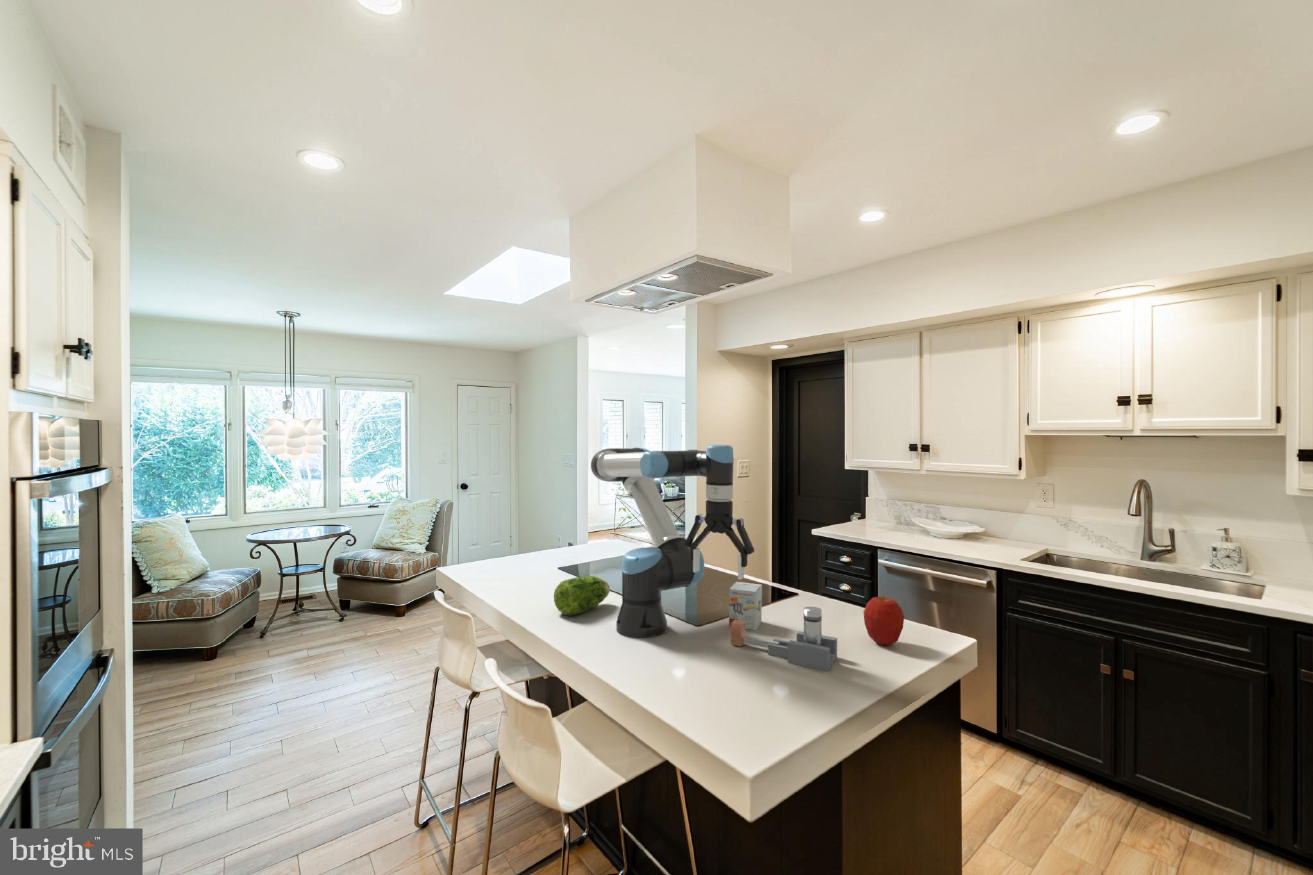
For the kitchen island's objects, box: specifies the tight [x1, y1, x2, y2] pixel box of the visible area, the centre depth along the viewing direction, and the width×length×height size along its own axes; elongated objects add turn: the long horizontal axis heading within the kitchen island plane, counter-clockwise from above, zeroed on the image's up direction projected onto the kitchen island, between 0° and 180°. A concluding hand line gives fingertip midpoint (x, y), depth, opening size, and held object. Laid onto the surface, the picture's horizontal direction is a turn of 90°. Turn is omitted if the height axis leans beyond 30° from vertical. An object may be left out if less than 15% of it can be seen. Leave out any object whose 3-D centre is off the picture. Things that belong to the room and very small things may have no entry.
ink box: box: [728, 581, 763, 631], centre depth 170 cm, size 9×9×12 cm
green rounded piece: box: [553, 575, 611, 616], centre depth 184 cm, size 12×21×11 cm, turn 141°
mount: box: [767, 630, 838, 672], centre depth 144 cm, size 16×10×5 cm, turn 59°
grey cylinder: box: [803, 606, 823, 646], centre depth 143 cm, size 4×4×13 cm
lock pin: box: [730, 620, 780, 649], centre depth 150 cm, size 13×3×6 cm, turn 59°
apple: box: [862, 593, 905, 647], centre depth 154 cm, size 10×10×14 cm
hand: (718, 574), depth 156 cm, fingers open, 13 cm apart
